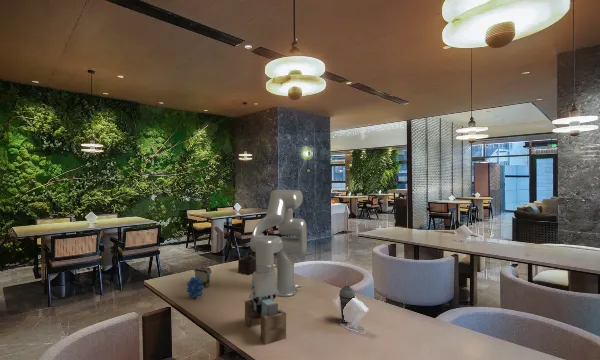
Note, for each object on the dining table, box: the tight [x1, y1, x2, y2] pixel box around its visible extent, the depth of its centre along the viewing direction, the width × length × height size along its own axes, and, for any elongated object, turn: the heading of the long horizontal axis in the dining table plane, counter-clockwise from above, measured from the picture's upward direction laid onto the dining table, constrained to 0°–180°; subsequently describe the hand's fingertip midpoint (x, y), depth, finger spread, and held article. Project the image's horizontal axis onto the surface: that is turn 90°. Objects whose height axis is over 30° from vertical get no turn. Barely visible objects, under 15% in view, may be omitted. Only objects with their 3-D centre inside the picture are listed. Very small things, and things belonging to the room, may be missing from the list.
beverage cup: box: [338, 275, 356, 323], centre depth 142 cm, size 7×7×20 cm
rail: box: [252, 295, 279, 316], centre depth 132 cm, size 4×16×6 cm, turn 32°
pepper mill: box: [237, 248, 256, 276], centre depth 217 cm, size 16×11×18 cm
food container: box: [193, 266, 212, 288], centre depth 191 cm, size 12×6×10 cm, turn 58°
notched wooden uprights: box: [244, 299, 287, 345], centre depth 132 cm, size 9×21×10 cm, turn 32°
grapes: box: [186, 276, 205, 300], centre depth 169 cm, size 12×7×12 cm, turn 63°
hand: (264, 311), depth 132 cm, fingers closed on rail, 4 cm apart
